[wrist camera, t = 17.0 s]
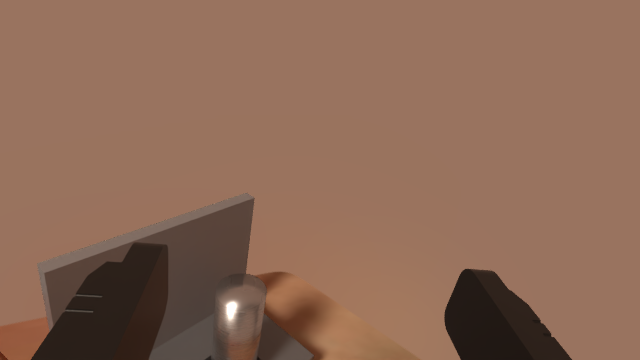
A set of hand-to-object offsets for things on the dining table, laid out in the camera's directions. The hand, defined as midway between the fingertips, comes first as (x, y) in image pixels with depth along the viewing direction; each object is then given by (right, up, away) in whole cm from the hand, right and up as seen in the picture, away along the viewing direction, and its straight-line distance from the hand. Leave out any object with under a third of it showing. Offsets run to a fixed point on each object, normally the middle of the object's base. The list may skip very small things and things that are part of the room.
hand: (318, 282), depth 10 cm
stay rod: (-8, -18, +25) cm, 32 cm away
